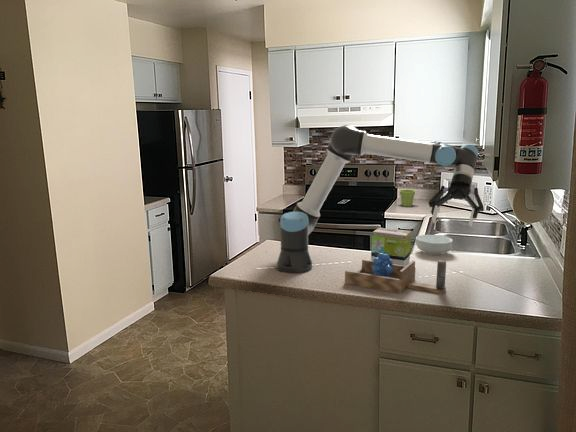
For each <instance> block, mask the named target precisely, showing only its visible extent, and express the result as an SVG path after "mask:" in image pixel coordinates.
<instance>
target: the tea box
mask: <svg viewBox="0 0 576 432" xmlns="http://www.w3.org/2000/svg"><path fill="white" fill-rule="evenodd" d="M411 241H412V230H404V229H396V228H395V229H394V228H384V227H378V228H376V229H375V230H374V231H372V232H371V247H370V248H371V249H370V252H371V253H370V261H373V260H374V258H376V257H378V254H379V253H383V254H388V255H389V257H390V259H391V260H392V262H393V264H396V265H402V266H406V265H408V264H409V263H410V262H411V261H410V260H411V244H412V243H411Z"/></svg>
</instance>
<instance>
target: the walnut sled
mask: <svg viewBox="0 0 576 432" xmlns="http://www.w3.org/2000/svg"><path fill="white" fill-rule="evenodd" d="M373 265H375V264H374V262H373V261H371V260H367V259H362V260H361V268H360V269H359V270H357V271H353V270H345V271H344V284H346V285H352V286H357V287H362V288H367V289H374V290H380V291H384V292H391V293H396V294H401V293H403V291H405V290H406V289H410V290H411V289H412V290H418V291H421V292H422V291H423V292H428V293H434V294H440V295H444V294H445V293H446V290H447V287H446V274H447V273H446V272H447V261H446V260H441V259H440V260H437V266H436V267H437V268H436V281H435V282H436V283H435V284H436V285H435V284H430V283H426V282H425V283H423V282H417V281H415V280H416V260H411V261H410V262H409V263H408V264H407V265H406V266H402V265H396V264H392V266H391V267H392V269H393V272H392V273H391V274H389V275H390V278H389V277H383V276H377V275H374V273H375V272H373V270H372V266H373Z"/></svg>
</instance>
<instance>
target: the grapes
mask: <svg viewBox="0 0 576 432" xmlns="http://www.w3.org/2000/svg"><path fill="white" fill-rule="evenodd" d="M373 262H374V264H375V265H373V266H372V270H373V272H375V273H374V274H373V275H377V276H383V277H389V278H391V276H390V275H389V274H391V273H392V272H393V269H392V267H391V266H392V264H393V262H392V260H391V259H390V257H389V255H388V254H383V253H379V254H378V257H376V258H374V260H373Z"/></svg>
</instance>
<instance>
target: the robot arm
mask: <svg viewBox="0 0 576 432" xmlns="http://www.w3.org/2000/svg"><path fill="white" fill-rule="evenodd" d="M326 152H327V155H326V157H325V159H324V161H323V162H322V164H321V166H320V168H319V170H318V172H317V173H316V175H315V176H314V178H313V181H312V182H311V183H310V184H311V185H310V186H309V188H308V190H307V192H306V194H305V196H304V197H303V199H302V201H299V202H297V203H296V205H295V207H294V209H293V211H288V212H285V213H284V214H282V215H281V217H280V221H279V224H280V252H279V256H278V258H277V260H276V261H277V262H276V269H277V271H279V272H282V273H288V274H301V273H308V272H310V271H311V270H312V269H313V261H312V258H311V255H310V252H309V235H310V234H311V233H313V231H314V230H315V227H316V225H317V222H318V220H319V219H320V218H321V213H320V210H321V208H322V206H323V205H324V202H325V201H326V200H327V197H328V195H329V194H330V192H331V190H332V189H333V187H334V185H335V183H336V181H337V180H338V178H339V176H340V174H341V172H342V170H343V168H345V165H346V164H348V163H351V162H352V160H353V158H354V156H364V155H365V154H367V155H374V156H379V157H381V156H382V157H387V158H388V157H389V158H394V159H400V160H401V159H402V160H407V161H408V160H409V161H416V162H423V163H427V164H428V163H429V164H435V165H440V166H443V167H447V166H452V167H454V170H453V172H452V173H453V174H452V178H451V182H450V184H449V185H450V186H449V187H447V186H446V187H445V185H441V187H440V189H439V190H438V191H437V193H436V194H435V195H434V196H433V197H432V198H431V199H430V200H429V201H428V206H429V208H431V210H430V213H431V215H432V216H431V223H432V224H435V223H436V220H437V215H438V212H439V207H441V206H442V205H444V204H445V203H447V202H448V201H451V200H452V199H454V200H463V199H464V200H465V202H467V204H469V206H470V207H471V211H470V212H471V213H470V216H469V217H470V218H469V221H468V224H469V228H470V227H471V228H472V227H473V224H474V219H475V220H476V219H477V218H478V215H479V214H478V213H479V212H484V211H485V209H484V208H485V207H484V205H483V204H484V203H483V202H482V199H481V197H480V194H479V188H478V187H475V188H472V189H471V187H472V183H473V178H474V174H475V169H476V165H477V161H478V157H479V151H478V148H477V147H476V146H475V145H473V144H463V145H461V146H460V147H458V146H453V145H450V144H448V143H444V142H441V141H437V140H432V141H431V142H426V141H420V140H411V139H404V138H399V137H398V138H396V137H391V136H390V137H389V136H384V135H383V136H381V135H374V134H369V133H367V131H366V130H359V129H358V128H357V127H356V126H354V125H351V124H345V125H342V126H338V127H337V128H336V129H334V131H332V134H331V136H330V142H329V143H328V145H327V148H326ZM470 194H472V196H474V198H475V201H476V203H477V204H476V203H475V201H474V200H473V199H472V198H471V197H470Z"/></svg>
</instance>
